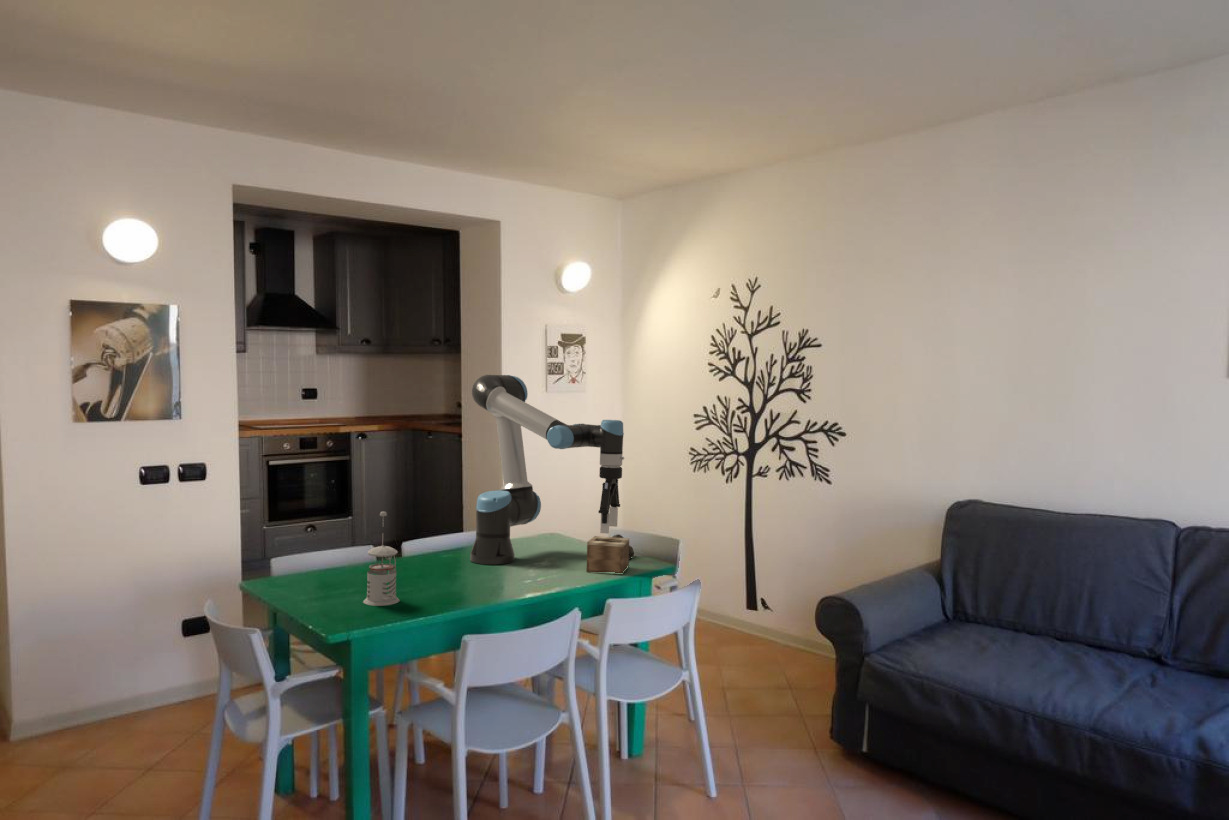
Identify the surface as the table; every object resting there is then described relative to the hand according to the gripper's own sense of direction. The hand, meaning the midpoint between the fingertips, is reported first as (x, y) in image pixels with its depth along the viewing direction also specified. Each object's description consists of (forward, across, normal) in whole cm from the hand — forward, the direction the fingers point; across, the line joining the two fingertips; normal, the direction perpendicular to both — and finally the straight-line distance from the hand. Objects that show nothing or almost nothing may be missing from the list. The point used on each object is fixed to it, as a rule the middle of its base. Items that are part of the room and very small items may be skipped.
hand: (608, 529), depth 274 cm
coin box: (+14, 0, 0) cm, 14 cm away
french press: (+14, -57, +52) cm, 78 cm away
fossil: (+14, +20, 0) cm, 25 cm away
